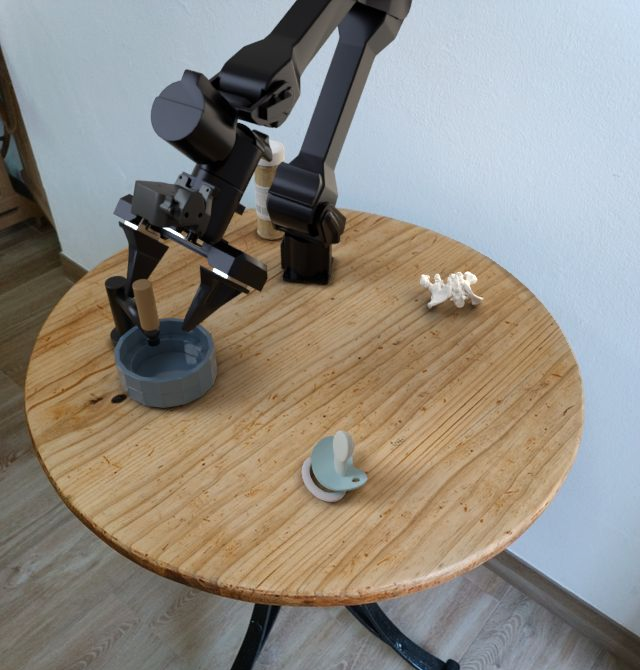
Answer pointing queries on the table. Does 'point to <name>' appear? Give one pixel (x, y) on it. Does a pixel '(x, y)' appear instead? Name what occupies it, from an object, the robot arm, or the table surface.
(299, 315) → the table surface
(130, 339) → the basin
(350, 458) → the pacifier
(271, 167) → the sprinkles bottle
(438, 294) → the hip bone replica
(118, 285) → the black crank handle
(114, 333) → the base
